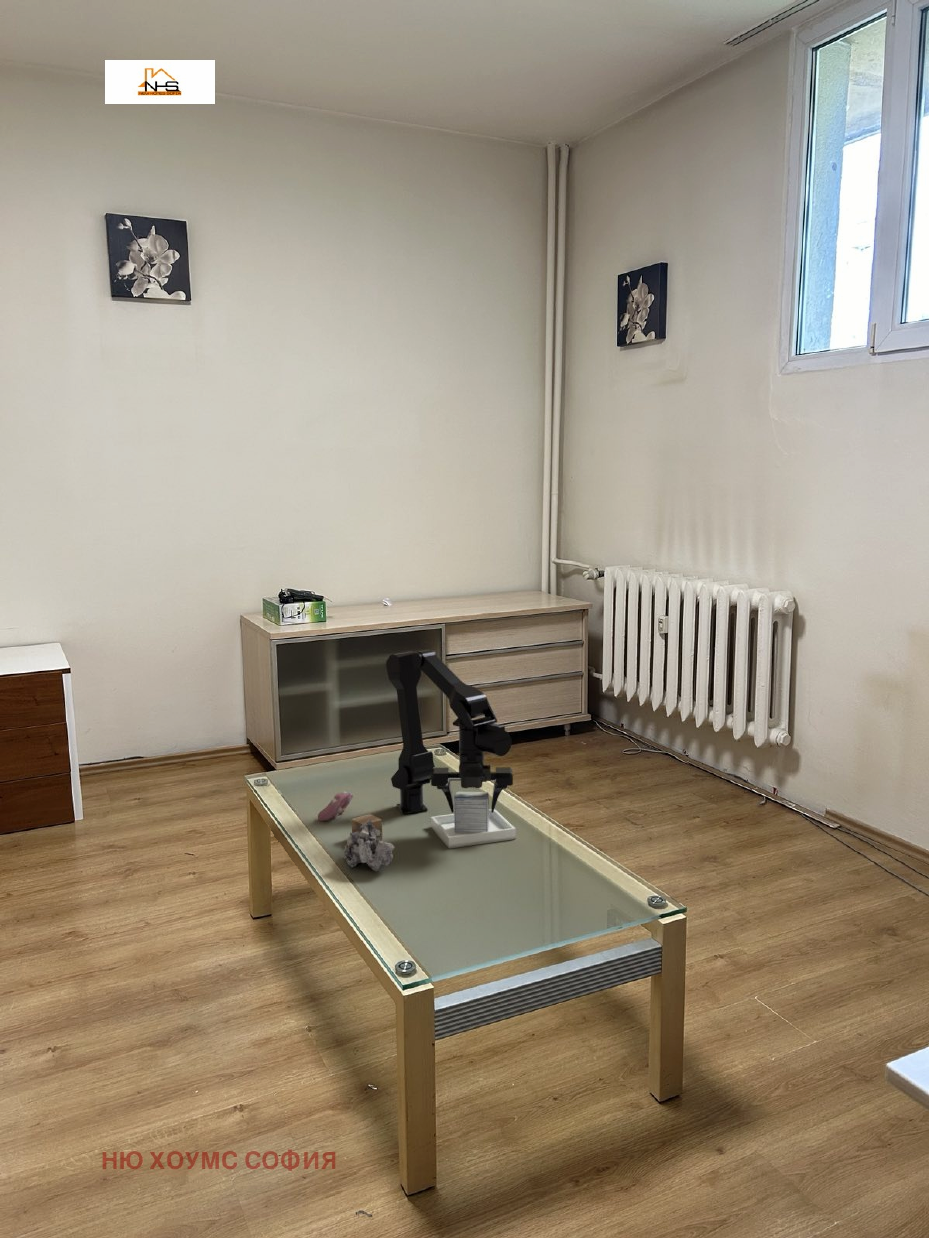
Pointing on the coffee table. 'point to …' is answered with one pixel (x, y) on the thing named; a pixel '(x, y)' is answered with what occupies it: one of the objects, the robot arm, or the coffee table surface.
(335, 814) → the pink crystal rock
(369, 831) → the mineral specimen
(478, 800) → the medicine box
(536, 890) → the coffee table surface
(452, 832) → the tray
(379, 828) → the walnut block
